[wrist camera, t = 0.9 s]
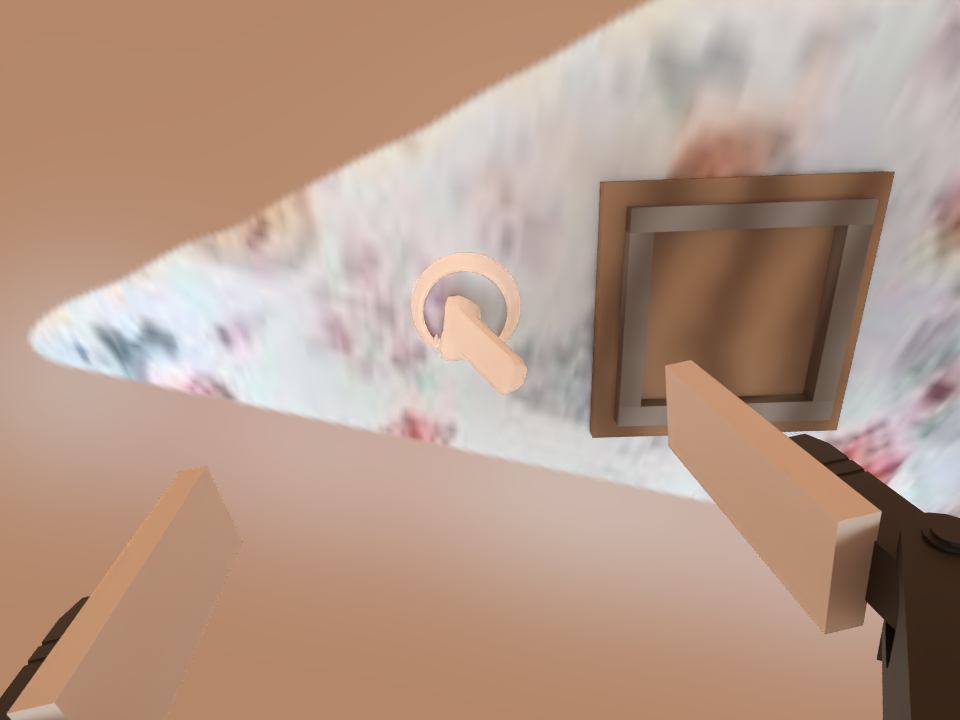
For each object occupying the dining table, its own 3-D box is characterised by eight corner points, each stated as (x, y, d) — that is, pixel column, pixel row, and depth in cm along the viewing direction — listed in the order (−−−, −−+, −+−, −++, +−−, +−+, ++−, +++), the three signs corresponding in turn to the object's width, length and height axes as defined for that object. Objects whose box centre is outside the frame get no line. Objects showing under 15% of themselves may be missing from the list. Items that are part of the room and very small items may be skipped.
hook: (580, 417, 34) (491, 450, 30) (479, 329, 42) (399, 347, 38) (610, 315, 30) (512, 338, 26) (491, 239, 38) (403, 250, 34)
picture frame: (883, 171, 33) (909, 171, 31) (827, 423, 40) (847, 438, 38) (600, 182, 34) (608, 183, 31) (590, 431, 40) (596, 445, 38)
